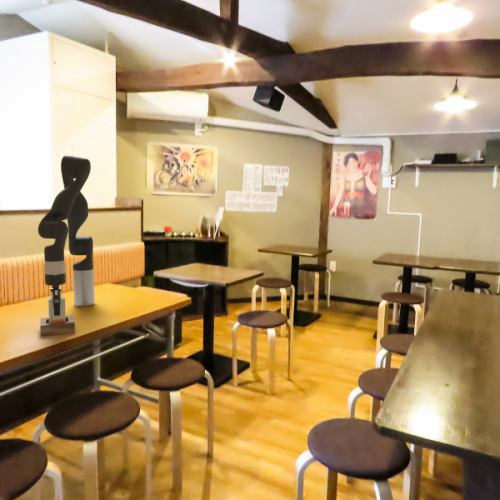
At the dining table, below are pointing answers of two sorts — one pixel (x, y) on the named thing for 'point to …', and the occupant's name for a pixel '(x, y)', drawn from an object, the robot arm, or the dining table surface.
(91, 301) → the robot arm
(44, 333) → the grey slotted box
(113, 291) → the dining table surface
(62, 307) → the skincare box
